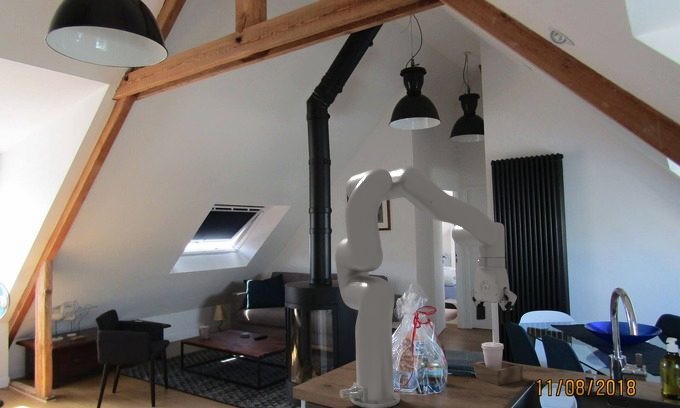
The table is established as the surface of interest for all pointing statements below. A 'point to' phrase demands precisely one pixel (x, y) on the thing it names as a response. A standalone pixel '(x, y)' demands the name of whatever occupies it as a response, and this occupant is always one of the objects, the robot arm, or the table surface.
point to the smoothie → (493, 353)
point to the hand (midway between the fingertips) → (492, 321)
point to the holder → (499, 372)
